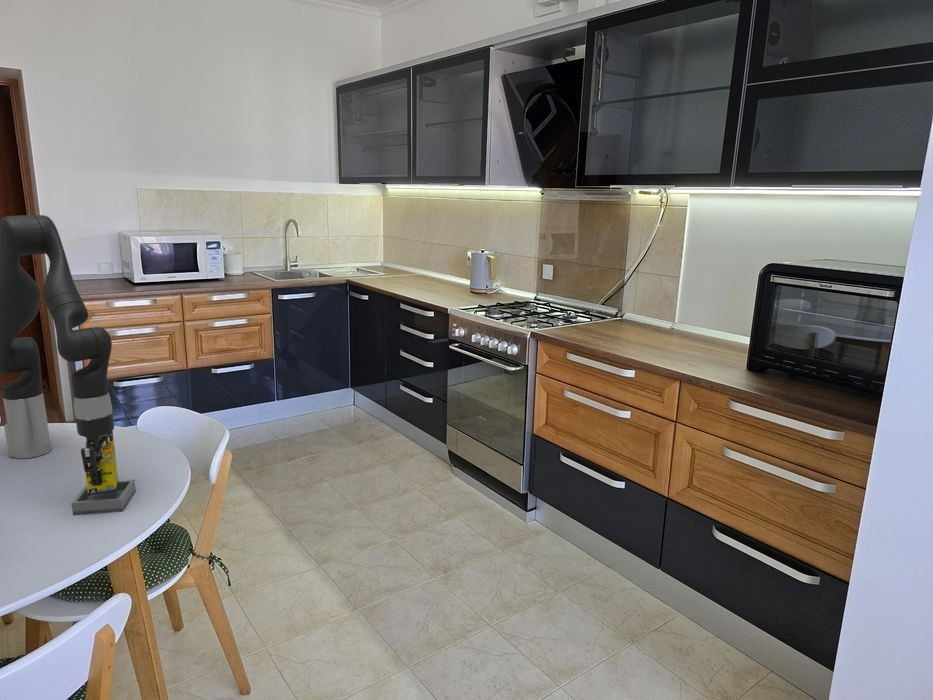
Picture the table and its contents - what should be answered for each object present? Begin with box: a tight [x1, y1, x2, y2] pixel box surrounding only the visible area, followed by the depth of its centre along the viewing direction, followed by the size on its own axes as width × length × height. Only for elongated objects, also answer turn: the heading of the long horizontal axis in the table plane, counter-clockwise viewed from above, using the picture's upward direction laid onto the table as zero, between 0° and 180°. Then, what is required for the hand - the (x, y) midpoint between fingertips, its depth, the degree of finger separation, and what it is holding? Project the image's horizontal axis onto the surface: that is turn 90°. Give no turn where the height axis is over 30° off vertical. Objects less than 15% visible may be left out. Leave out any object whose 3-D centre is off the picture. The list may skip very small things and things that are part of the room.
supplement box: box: [84, 441, 119, 495], centre depth 151 cm, size 6×6×11 cm
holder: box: [71, 479, 137, 516], centre depth 153 cm, size 11×11×3 cm
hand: (102, 478), depth 152 cm, fingers closed on supplement box, 6 cm apart
